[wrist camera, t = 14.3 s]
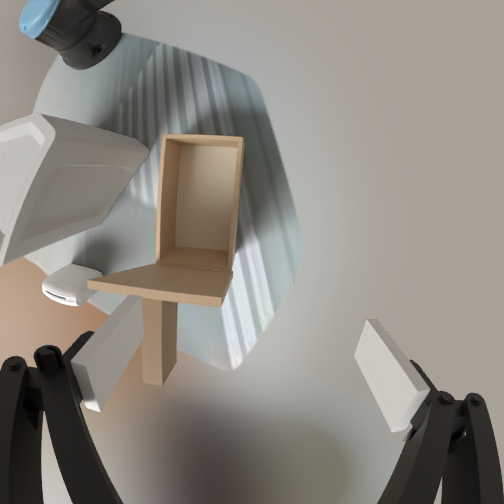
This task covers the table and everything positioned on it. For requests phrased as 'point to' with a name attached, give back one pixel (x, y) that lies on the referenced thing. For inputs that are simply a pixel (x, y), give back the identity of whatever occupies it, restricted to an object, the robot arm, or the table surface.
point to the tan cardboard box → (164, 306)
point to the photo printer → (70, 284)
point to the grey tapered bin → (58, 180)
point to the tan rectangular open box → (198, 200)
